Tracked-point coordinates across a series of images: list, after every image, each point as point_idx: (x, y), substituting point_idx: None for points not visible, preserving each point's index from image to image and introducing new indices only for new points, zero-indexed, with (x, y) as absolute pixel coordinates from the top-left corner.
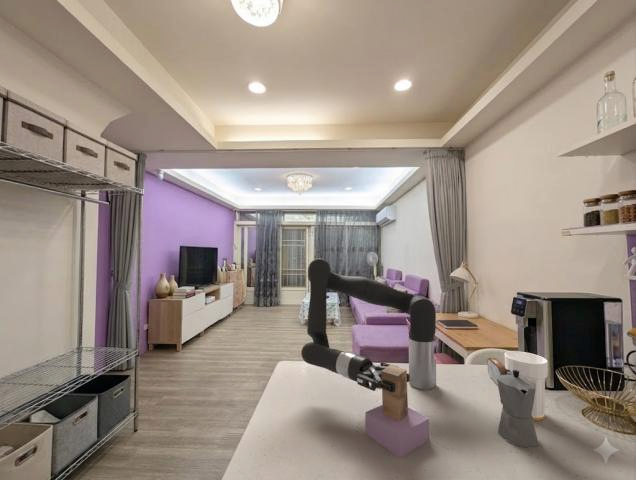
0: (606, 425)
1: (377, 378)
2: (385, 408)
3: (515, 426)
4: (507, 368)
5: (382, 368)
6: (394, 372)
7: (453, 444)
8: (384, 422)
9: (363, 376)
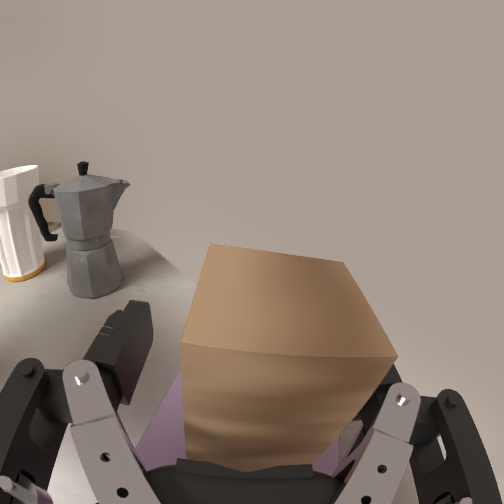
0: (49, 229)
1: (407, 411)
2: None
3: (112, 257)
4: (4, 202)
5: (150, 490)
6: (322, 282)
7: (172, 356)
8: (329, 456)
9: (481, 485)
